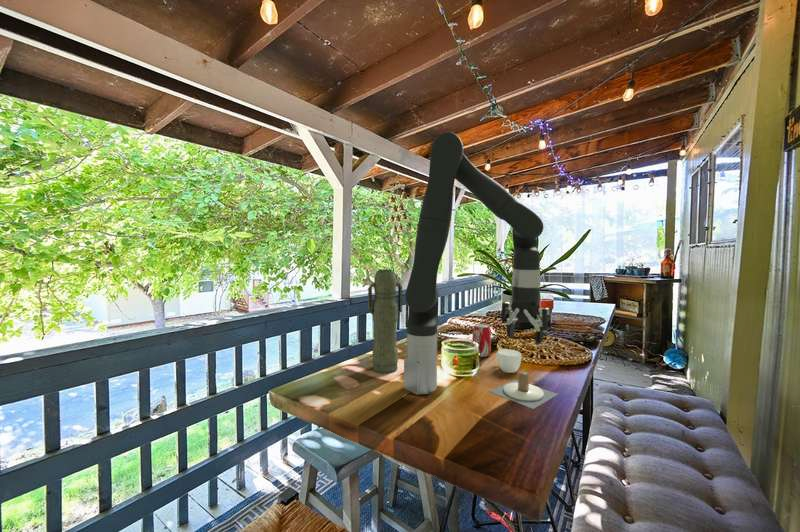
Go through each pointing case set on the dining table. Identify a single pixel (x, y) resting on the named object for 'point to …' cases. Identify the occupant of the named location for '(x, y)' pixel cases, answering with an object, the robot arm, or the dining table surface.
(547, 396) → the mat
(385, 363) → the thermos
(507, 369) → the cup
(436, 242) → the robot arm
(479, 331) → the soda can
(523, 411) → the dining table surface
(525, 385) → the lid
